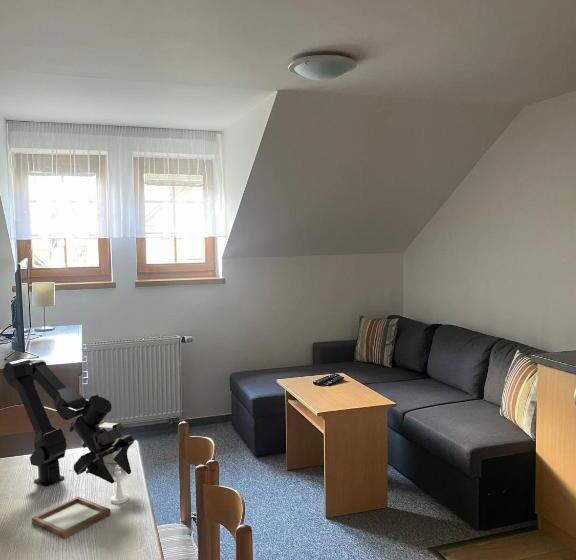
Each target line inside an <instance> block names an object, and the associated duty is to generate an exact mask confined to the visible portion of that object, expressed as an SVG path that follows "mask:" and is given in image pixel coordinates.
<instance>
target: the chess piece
mask: <svg viewBox="0 0 576 560" xmlns="http://www.w3.org/2000/svg"><path fill="white" fill-rule="evenodd" d="M121 469H122V468H121V467H120V466H119V465H118V464H117V465H116V466H115V467H114V470H116V471H114V477H115V479H114V481H115V482H114V483H116V492H115V494H114V495H112V496H111V497H110V503H112V504H113V505H117V504H118V505H119V504H120V505H121V504H123V503H125V502H127V501H128V500H129V495H128V494H127V493H124V492H123V490H122V482H123V478H121V477H122V471H121Z"/></svg>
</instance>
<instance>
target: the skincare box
mask: <svg viewBox="0 0 576 560" xmlns="http://www.w3.org/2000/svg"><path fill="white" fill-rule="evenodd" d="M118 423H119V422H103V423H100V424H98V426H99V427H100V428H101V429H106V430H107V431H110V430H112V429H113V428H112V426H113V425H116V424H118ZM119 439H120V438H118V439H116V442H117V441H118V440H119ZM116 442H115V443H116ZM115 443H114V444H112V446H113V445H115ZM108 452H109V451H108ZM114 457H115V455H114V454H113V453H112V454H110V455H108V456H106V457H104V458H103V459H104V463H109V464H117V463H116V462H115V461H114V460H113V459H114Z"/></svg>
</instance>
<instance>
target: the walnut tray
mask: <svg viewBox="0 0 576 560" xmlns="http://www.w3.org/2000/svg"><path fill="white" fill-rule="evenodd" d="M111 514H112V513H111V508H109V507H106V506H103V505H101V504H99V503H96V502H94V501H91V500H89V499H85V498H83V497H81V496H75V497H74V498H71V499H69V500H68V501H65V502H63V503H61V504H58V505H56V506H55V507H52V508H49V509H48V510H46V511H43V512H42V513H38V514H37V515H35V516H33V517H31V525H33V526H36V527H38V528H40V529H43V530H44V531H47V532H48V533H51V534H52V535H55V536H58V537H60V538H62V539H64V540H65V539H67V538H69V537H70V536H73V535H75V534H76V533H79V532H81V531H82V530H84V529H86V528H89V527H90V526H92V525H94V524H96V523H98V522H100V521H102V520H104V519H105V518H107V517H109V516H111Z"/></svg>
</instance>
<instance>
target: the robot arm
mask: <svg viewBox="0 0 576 560" xmlns="http://www.w3.org/2000/svg"><path fill="white" fill-rule="evenodd" d="M2 376H3V377H4V378H5V381H6V382H7V384H8V386H10V387H11V388H13V389H14V390H16V391H17V392H18V395H19V397H20V400H21V402H22V404H23V406H24V410H25V412H26V415H27V417H28V419H29V421H30V424H31V426H32V428H33V431H34V434H35V435H34V440H33V446H34V449H35V450H34V451H33V453H32V454H31V455H30V457H29V461H30V465H32V466H36V467H37V473H38V478H35V479H34V480H33V481H34V483H37V484H38V485H41V486H44V487H48V486H51V485H52V484H56V483H57V482H60V481H62V480H64V479H65V476H64V475H61V471H60V470H61V469H60V461H59V459H62V458H65V456H66V455H65V454H66V450H67V447H68V444H67V439H66V437H65V436H64V432H63V430H62V428H55V427H54V426H53V425H52V423H51V421H50V418H49V415H48V414H47V411H46V409H45V406H44V404H43V402H42V399H41V397H40V395H39V392H38V390H37V388H36V385H35V381H36V383H37V384H38V385H40V387H41V388H42V389H43V390H44V392H46V393H47V394H48V396H49V397H50V398H51V399H52V400H53V402H54V408H55V411H56V412H57V413H58V415H59V416H60V418H61V419H63V420H64V421H69V420H72V419H75V418H76V419H75V420H74V421H71V422H70V427H69V432H70V433H73V432H76V434H78V436H79V437H80V439H81V440H82V442H83V443H82V445H81V446H82V447H83V448H84V449H85V448H87V449H88V451H89V452H87V453H84V454H83V455H80V456H79V458H78V459H77V461H76V462H75V463H74V464H73V471H74V472H75V474H76V475H77V476H79V475H81V474H83V473H86V474H90V475H93V476H95V477H98V478H100V479H102V480H104V481H106V482H107V483H110V484H112V485H113V484H114V483H116V482H115V479H114V477H113V475H112V473H111V472H110V471H109V469H108V468H107V466H106V465H105V462H104V459H103V458H104V457H106V456H108V455H110V454H112V453H113V454H114V455H115V457H114V459H113V460H114V461H115V462H116V463H115V464H117V465H119V467H121V469H122V470H123V471H124V472H125V473H126V474H128V475H130V474H131V473H132V470H131V465H130V463H129V457H128V456H129V455H128V451H129V449H130V448H131V446H132V445H133V444H134V443H135V441H136V440H135V437H133V436H132V435H131V434H126V435H123V434H124V433H125V432H126V430H125V427H124V425H123V424H122V423H121V422H117V423H118V424H116V425H113V426H112V428H113V429H112V430H110V431H107V430H106V429H101V428H100V427H99V425H101V424H102V422H104V420H105V418H107V416H108V415H109V414H110V412H111V410H112V403H111V402H110V400H108V399H106V398H105V397H102V396H99V395H98V394H97V393H96V394H93V395H91V396H90V397H89V399H86V398H85V397H84V396H83V395H81V394H80V393H79V392H77V391H75V390H73V389H70V388H68V387H67V386H66V385H65V384H64V383H63V382H62V381H61V379H59V377H58V376H56V374H55V373H54V372H53V371H52V370H51V369H50V368H49V366H48V365H47V362H46V361H45V360H44V359H34V360H31V359H29V358H21V359H16V360H13V361H8V362H6V363H5V364H4V367H3V368H2ZM118 438H120V439H119V440H118V441H117V442H116V439H118ZM115 442H116V443H115ZM114 443H115V445H113V446H112V444H114ZM108 451H109V452H108Z"/></svg>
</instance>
